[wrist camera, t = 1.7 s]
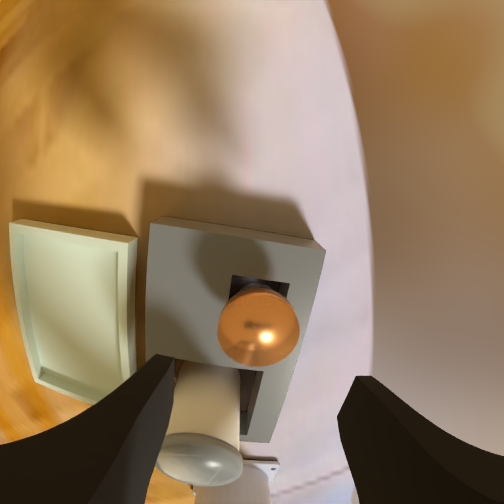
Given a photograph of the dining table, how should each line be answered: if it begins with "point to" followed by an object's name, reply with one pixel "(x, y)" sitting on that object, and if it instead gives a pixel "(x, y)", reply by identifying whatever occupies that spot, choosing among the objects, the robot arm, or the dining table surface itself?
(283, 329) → the orange round piece
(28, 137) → the dining table surface
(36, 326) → the tray
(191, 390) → the cylinder
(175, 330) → the housing
